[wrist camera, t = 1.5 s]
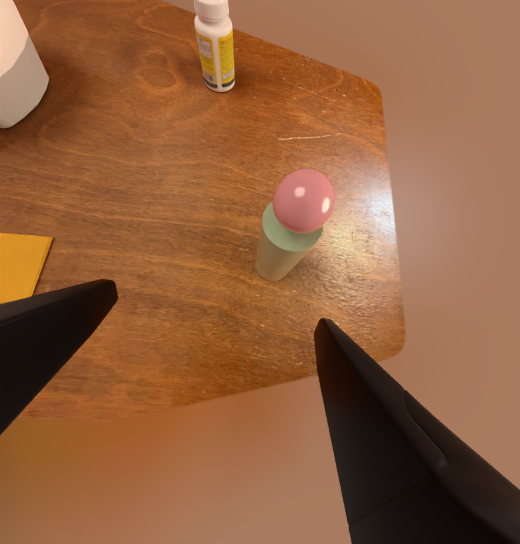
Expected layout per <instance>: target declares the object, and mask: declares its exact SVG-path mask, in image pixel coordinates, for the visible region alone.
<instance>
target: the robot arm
mask: <svg viewBox="0 0 520 544" xmlns="http://www.w3.org/2000/svg"><path fill="white" fill-rule="evenodd" d="M117 300H118V294H117V289H116V284H115V282H114V281H112V280H107V279H100V280H96V281H92V282H87V283H83V284H79V285H75V286H71V287H67V288H63V289H59V290H55V291H51V292H47V293H43V294H39V295H35V296H31V297H27V298H23V299H19V300H15V301H11V302H7V303H3V304H0V435H1V434H2V433H3V432H4V430H5V429H6V428H7V427H8V426H9V425H10V424H11V423H12V421H14V420H15V418H16V417H17V416H18V415H19V414H20V413H21V412H22V411H23V410H24V409H25V407H26V406H27V405H28V404H29V403H30V402H31V401H32V400H33V399H34V398H35V396H36V395H37V394H38V393H39V392H40V391H41V390H42V389H43V388H44V387H45V385H46V384H47V383H48V382H49V381H50V380H51V379H52V378H53V377H54V376H55V374H56V373H57V372H58V371H59V370H60V369H61V368H62V367H63V366H64V365H65V363H66V362H67V361H68V360H69V359H70V358H71V357H72V356H73V355H74V353H75V352H76V351H77V350H78V349H79V348H80V347H81V346H82V345H83V344H84V342H85V341H86V340H87V339H88V338H89V337H90V336H91V335H92V333H93V332H94V331H95V330H96V329H97V327H98V326H99V325H100V323H101V322H102V321H103V319H104V318H105V317H106V315H107V314H108V313H109V311H110V310H111V309H112V307H113V306H114V305H115V303H116V302H117ZM314 342H315V353H316V364H317V372H318V377H319V382H320V387H321V392H322V397H323V402H324V407H325V412H326V417H327V422H328V426H329V432H330V437H331V442H332V446H333V452H334V457H335V462H336V467H337V472H338V477H339V482H340V487H341V492H342V497H343V502H344V506H345V512H346V517H347V522H348V525H349V532H350V537H351V542H352V544H520V490H519V489H518V488H517V487H516V486H515V485H513V484H512V483H511V482H510V481H509V480H508V479H506V478H505V477H504V476H503V475H502V474H501V473H499V472H498V471H497V470H496V469H495V468H494V467H492V466H491V465H490V464H489V463H488V462H487V461H485V460H484V459H483V458H482V457H481V456H480V455H478V454H477V453H476V452H475V451H474V450H472V449H471V448H470V447H469V446H468V445H466V443H464V442H463V441H462V440H461V439H460V438H458V437H457V436H456V435H455V434H454V433H453V432H452V431H450V430H449V429H448V428H447V427H446V426H445V425H443V424H442V423H441V422H440V421H439V420H438V419H437V418H436V417H434V416H433V415H432V414H431V413H430V412H429V411H428V410H427V409H426V408H424V407H423V406H422V405H421V404H420V403H419V402H418V401H417V400H416V399H415V398H414V397H413V396H412V395H411V394H409V393H408V392H407V391H406V390H404V388H403V387H402V386H401V385H400V384H399V383H398V382H397V381H395V380H394V379H393V378H392V377H391V376H390V375H389V374H388V373H387V372H386V371H385V370H384V369H383V368H382V367H381V366H380V365H378V364H377V363H376V362H375V361H374V360H373V359H372V358H371V357H370V356H369V355H368V354H367V353H366V352H365V351H364V350H363V349H362V348H360V347H359V346H358V345H357V344H356V343H355V342H354V341H353V340H352V339H351V338H350V337H349V336H348V335H347V334H346V333H344V332H343V331H342V330H341V329H340V328H339V327H338V326H337V325H336V324H335V323H334V322H333V321H332V320H330V319H326V318H321V319H320V320H319V322H318V325H317V327H316V329H315V332H314Z"/></svg>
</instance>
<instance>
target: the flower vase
mask: <svg viewBox="0 0 520 544" xmlns="http://www.w3.org/2000/svg"><path fill="white" fill-rule="evenodd" d="M335 204H336V193H335V189H334V186H333V183H332V182H331V180H330V179H329V178H328V176H327V175H325V174H324V173H323V172H321V171H319V170H317V169H313V168H300V169H297V170H294V171H292V172H290V173H289V174H287V175H286V176H285V177H284V178H283V179H282V180H281V181H280V182H279V184H278V185H277V187H276V189H275V192H274V195H273V201H272V202H271V203H270V204H269V205H268V206H267V207H266V209H265V211H264V213H263V217H262V223H261V228H260V234H259V239H258V245H257V250H256V256H255V262H254V264H255V269H256V271H257V273H258V274H259V275H260V276H261V277H262V278H264V279H266V280H269V281H277V280H280V279H282V278H284V277H285V276H286V275H287V274H288V273H289V272H290V271H291V270H292V268H293V267H294V266H295V265H296V264H297V263H298V262H299V261H300V260H301V259H302V258H303V257H304V256H305V255H306V254H307V253H308V252H309V250H310V249H311V248H312V247H313V246H314V245H315V244H316V243H317V242H318V241H319V239H320V237H321V235H322V231H323V225H324V224H325V223H326V222H327V221H328V220H329V218H330V217H331V215H332V213H333V211H334V208H335Z"/></svg>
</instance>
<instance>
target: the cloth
mask: <svg viewBox="0 0 520 544" xmlns="http://www.w3.org/2000/svg"><path fill="white" fill-rule="evenodd" d="M52 239H53V238H51V237H45V236H33V235H20V234H8V233H0V304H3V303H7V302H11V301H15V300H19V299H23V298H27V297H31V296H32V294H33V292H34V289H35V286H36V283H37V281H38V278H39V275H40V272H41V270H42V267H43V264H44V261H45V259H46V256H47V253H48V250H49V248H50V245H51V242H52Z"/></svg>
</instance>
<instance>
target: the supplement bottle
mask: <svg viewBox="0 0 520 544" xmlns="http://www.w3.org/2000/svg"><path fill="white" fill-rule="evenodd" d="M194 6H195V11H196V14H197V15H196V17H195V30H196V36H197V42H198V47H199V53H200V59H201V64H202V70H203V76H204V81H205V84H206V85H207V87H208V88H210V89H211V90H213V91H216V92H225V91H228V90H230V89H231V88H232V87H233V86H234V83H235V74H234V52H233V30H232V22H231V19H230V18H229V16H228V14H229V11H228V10H229V9H228V0H194Z"/></svg>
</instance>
